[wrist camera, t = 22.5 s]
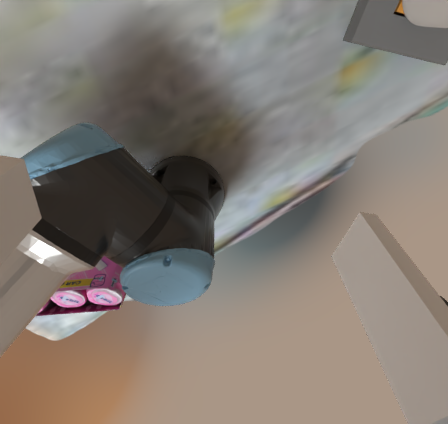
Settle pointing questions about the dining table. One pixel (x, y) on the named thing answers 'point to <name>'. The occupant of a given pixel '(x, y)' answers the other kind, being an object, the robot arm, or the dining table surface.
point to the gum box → (88, 291)
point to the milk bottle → (427, 12)
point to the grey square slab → (395, 32)
